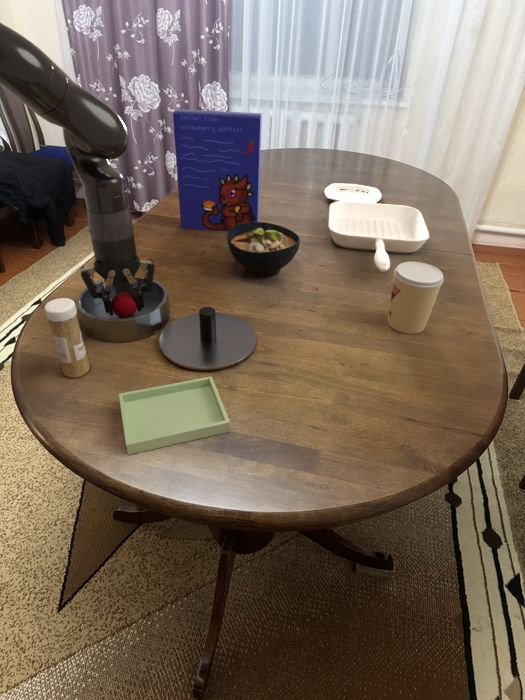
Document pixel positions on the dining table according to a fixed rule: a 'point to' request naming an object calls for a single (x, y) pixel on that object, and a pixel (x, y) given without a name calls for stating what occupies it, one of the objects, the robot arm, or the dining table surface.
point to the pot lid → (207, 340)
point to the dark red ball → (124, 305)
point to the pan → (377, 228)
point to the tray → (172, 414)
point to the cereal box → (217, 168)
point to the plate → (352, 193)
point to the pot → (118, 327)
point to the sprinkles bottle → (67, 336)
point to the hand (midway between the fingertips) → (125, 311)
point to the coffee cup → (413, 296)
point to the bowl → (262, 247)
